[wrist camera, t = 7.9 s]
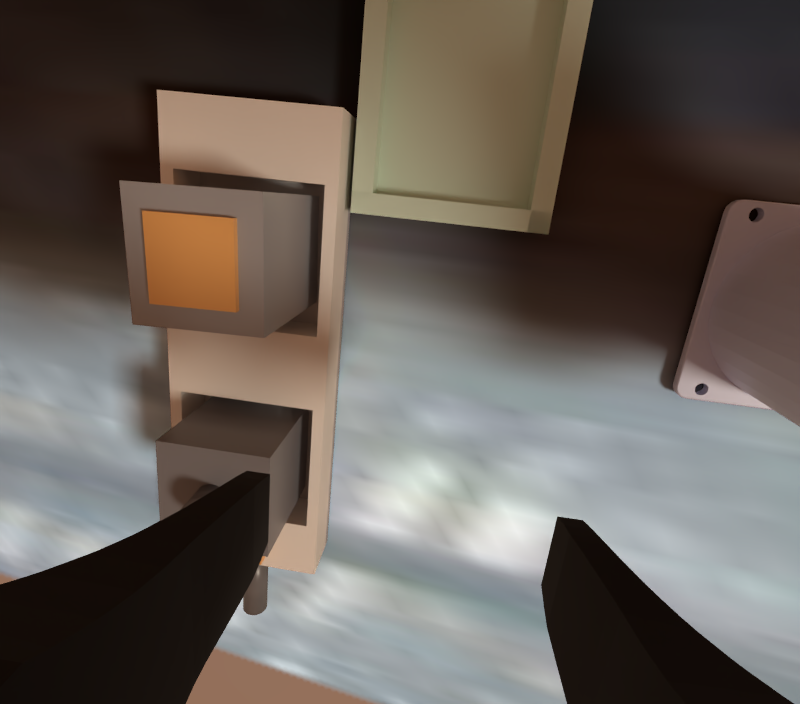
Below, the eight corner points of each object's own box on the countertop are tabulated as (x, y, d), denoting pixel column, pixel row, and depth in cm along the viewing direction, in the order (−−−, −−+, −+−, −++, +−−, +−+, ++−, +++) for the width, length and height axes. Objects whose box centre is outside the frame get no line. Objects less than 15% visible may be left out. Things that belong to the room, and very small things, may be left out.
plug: (319, 196, 20) (259, 191, 14) (316, 302, 21) (261, 340, 15) (215, 187, 20) (113, 179, 14) (219, 292, 21) (127, 326, 15)
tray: (597, -67, 16) (610, -91, 15) (541, 232, 19) (548, 234, 18) (378, -82, 17) (372, -106, 16) (357, 212, 20) (350, 212, 19)
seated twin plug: (309, 404, 22) (257, 475, 16) (305, 486, 24) (255, 579, 18) (218, 391, 23) (135, 456, 17) (219, 473, 24) (142, 560, 18)
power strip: (356, 119, 19) (339, 104, 16) (322, 601, 26) (307, 648, 23) (191, 103, 19) (148, 86, 17) (203, 581, 27) (174, 624, 24)
